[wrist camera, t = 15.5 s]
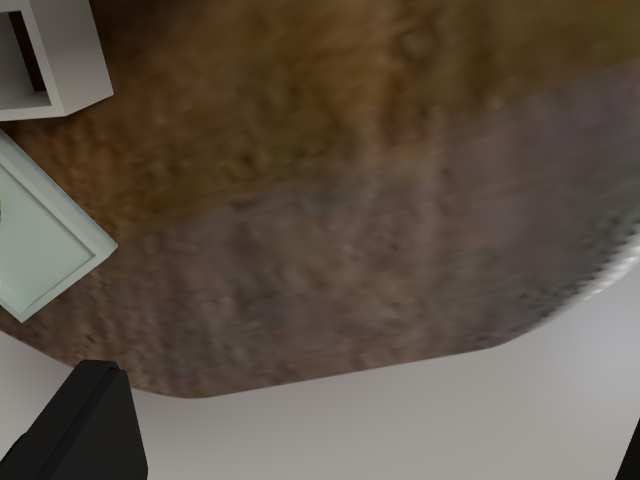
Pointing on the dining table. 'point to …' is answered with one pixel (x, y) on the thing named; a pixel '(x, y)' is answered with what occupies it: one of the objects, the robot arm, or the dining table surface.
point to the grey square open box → (51, 60)
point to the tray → (41, 235)
